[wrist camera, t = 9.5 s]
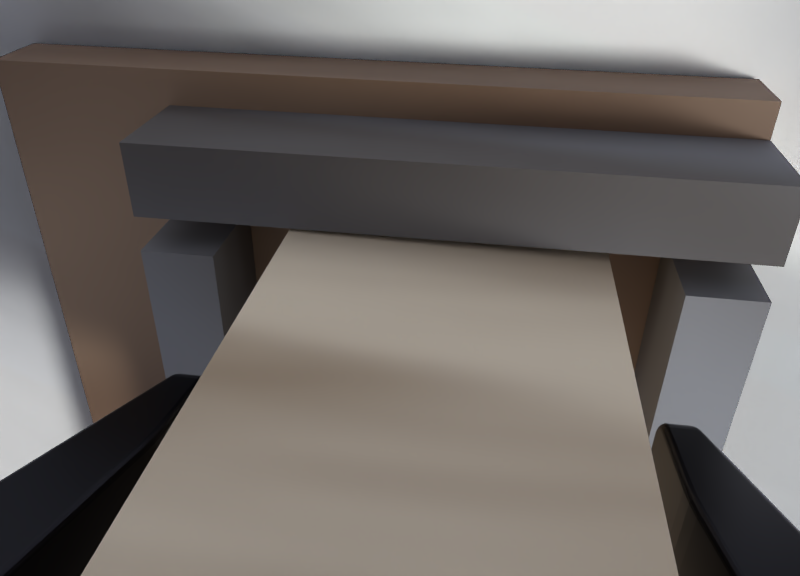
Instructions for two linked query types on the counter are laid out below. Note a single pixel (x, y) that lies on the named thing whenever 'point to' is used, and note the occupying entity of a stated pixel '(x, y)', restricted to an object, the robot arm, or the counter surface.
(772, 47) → the counter surface
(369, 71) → the track
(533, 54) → the counter surface
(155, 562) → the block
